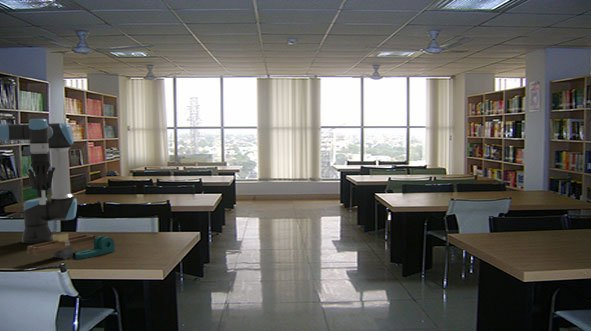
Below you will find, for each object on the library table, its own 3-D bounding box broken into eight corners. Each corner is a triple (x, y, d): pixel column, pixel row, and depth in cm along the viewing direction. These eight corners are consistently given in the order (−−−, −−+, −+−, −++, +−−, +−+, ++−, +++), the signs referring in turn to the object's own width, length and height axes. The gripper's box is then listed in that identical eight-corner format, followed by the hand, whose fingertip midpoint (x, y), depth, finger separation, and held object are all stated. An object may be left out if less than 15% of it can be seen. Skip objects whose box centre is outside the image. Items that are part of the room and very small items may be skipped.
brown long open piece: (26, 263, 223) (25, 246, 222) (85, 249, 248) (84, 234, 248) (38, 265, 218) (37, 248, 217) (96, 251, 243) (95, 235, 243)
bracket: (106, 250, 246) (105, 234, 245) (114, 251, 242) (113, 236, 242) (72, 258, 231) (71, 241, 231) (80, 259, 227) (79, 243, 227)
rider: (53, 245, 231) (52, 234, 231) (63, 243, 235) (62, 232, 235) (58, 246, 229) (58, 235, 228) (68, 244, 233) (68, 233, 233)
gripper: (30, 153, 215) (33, 206, 217) (58, 152, 226) (60, 203, 228) (20, 153, 219) (23, 205, 221) (48, 152, 230) (51, 202, 232)
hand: (42, 204), depth 224 cm, fingers closed
